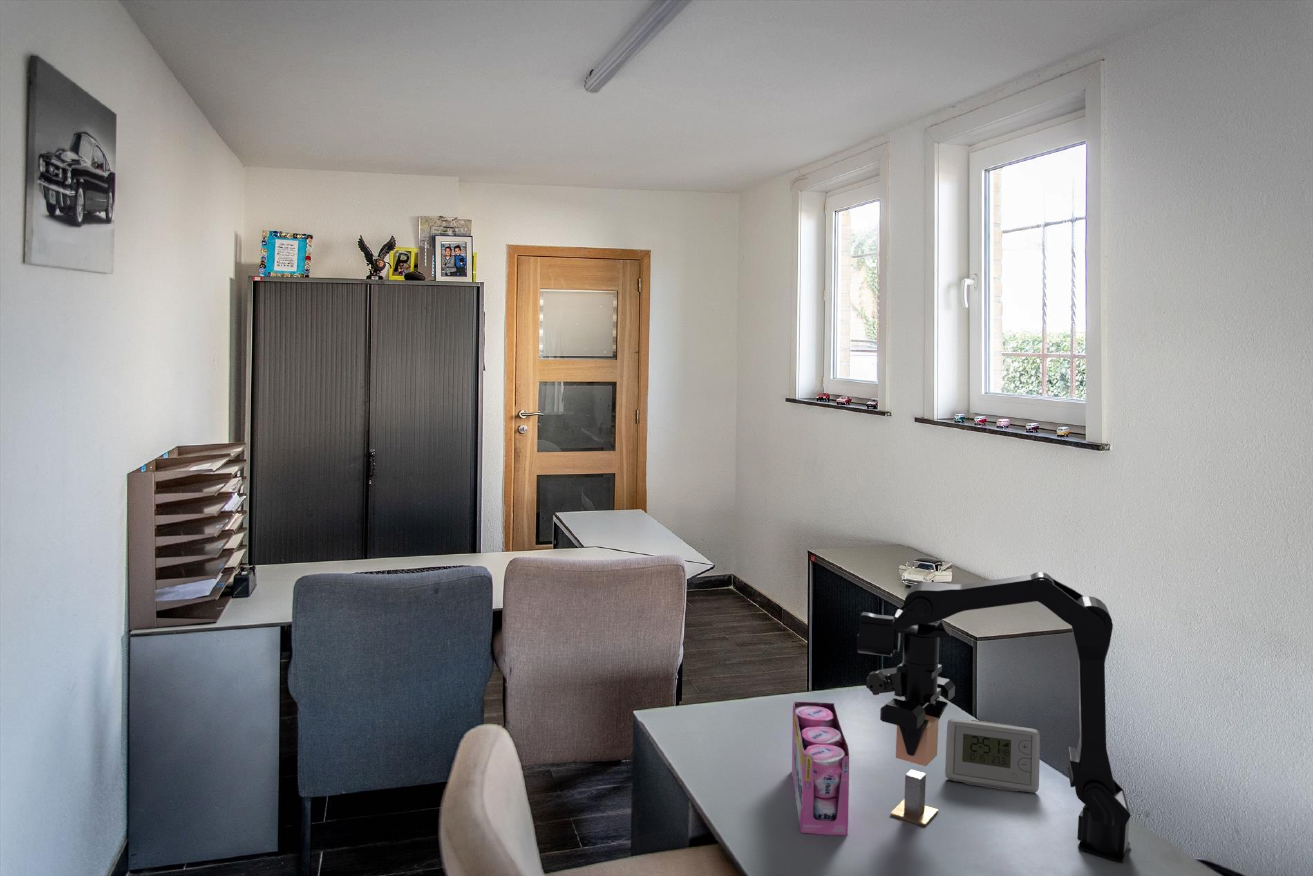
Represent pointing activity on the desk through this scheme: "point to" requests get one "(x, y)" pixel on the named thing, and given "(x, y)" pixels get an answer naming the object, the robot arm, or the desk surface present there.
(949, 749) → the digital clock
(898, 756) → the tan cardboard box
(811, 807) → the gum box
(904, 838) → the desk surface
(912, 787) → the post on square base
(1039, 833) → the desk surface
